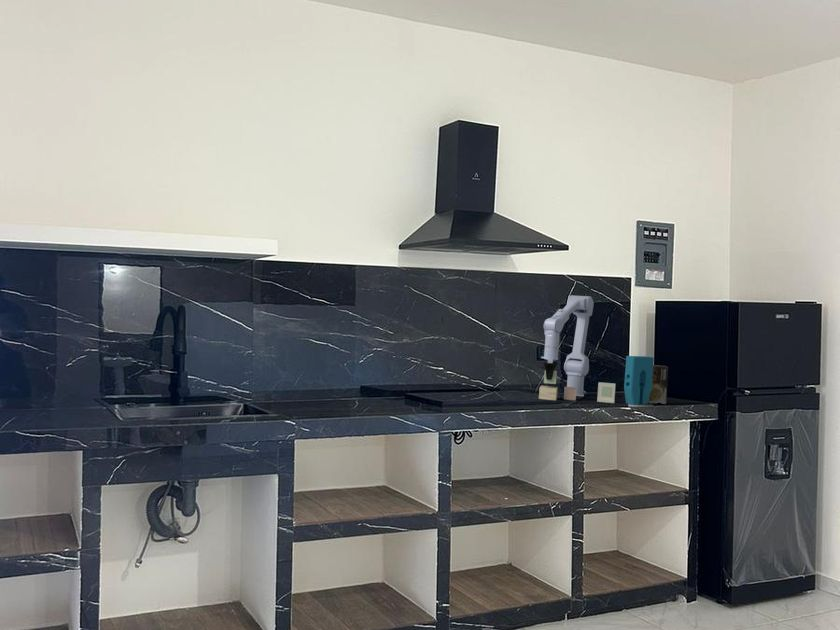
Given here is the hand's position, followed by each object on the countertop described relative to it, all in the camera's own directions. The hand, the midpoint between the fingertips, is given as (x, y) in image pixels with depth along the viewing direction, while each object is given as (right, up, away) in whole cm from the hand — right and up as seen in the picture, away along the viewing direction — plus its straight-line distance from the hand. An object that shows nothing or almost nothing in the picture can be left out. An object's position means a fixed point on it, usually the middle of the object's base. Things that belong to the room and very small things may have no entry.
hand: (549, 379), depth 368 cm
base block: (0, -8, 0) cm, 8 cm away
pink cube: (+9, -9, +4) cm, 13 cm away
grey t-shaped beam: (+24, -10, +2) cm, 26 cm away
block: (+37, -11, +3) cm, 39 cm away
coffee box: (+47, -11, +11) cm, 50 cm away
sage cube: (0, -2, 0) cm, 2 cm away
